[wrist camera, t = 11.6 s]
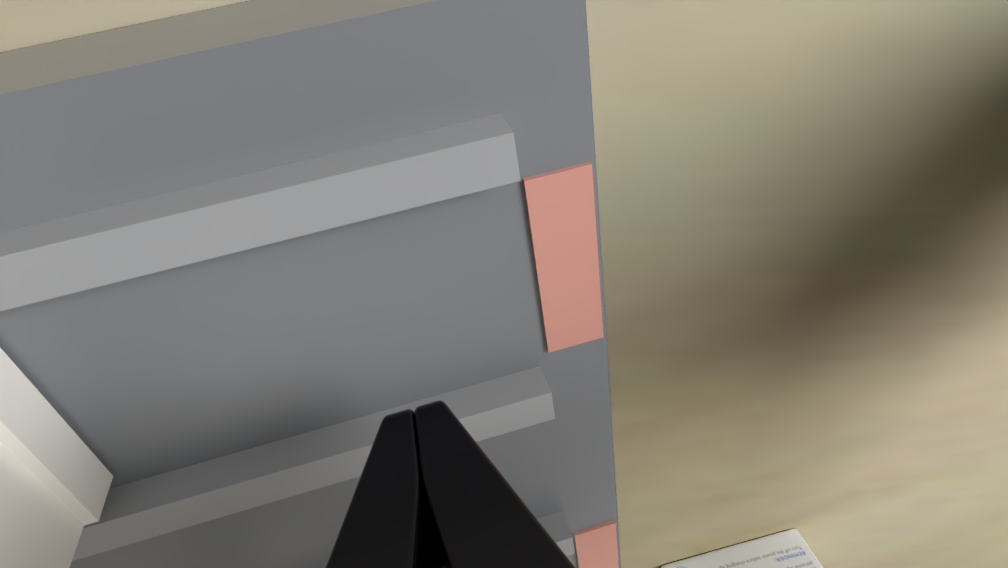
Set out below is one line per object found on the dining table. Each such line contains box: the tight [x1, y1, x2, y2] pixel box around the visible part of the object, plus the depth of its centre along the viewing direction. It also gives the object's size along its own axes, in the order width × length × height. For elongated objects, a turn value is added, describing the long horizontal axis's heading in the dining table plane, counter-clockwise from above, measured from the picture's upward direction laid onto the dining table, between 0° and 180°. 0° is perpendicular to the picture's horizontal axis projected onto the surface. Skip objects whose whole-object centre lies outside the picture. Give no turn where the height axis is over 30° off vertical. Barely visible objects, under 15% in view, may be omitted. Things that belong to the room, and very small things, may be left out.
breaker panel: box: [0, 0, 621, 568], centre depth 15 cm, size 15×21×4 cm
